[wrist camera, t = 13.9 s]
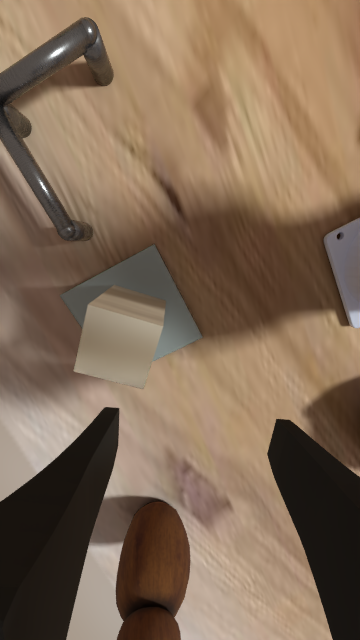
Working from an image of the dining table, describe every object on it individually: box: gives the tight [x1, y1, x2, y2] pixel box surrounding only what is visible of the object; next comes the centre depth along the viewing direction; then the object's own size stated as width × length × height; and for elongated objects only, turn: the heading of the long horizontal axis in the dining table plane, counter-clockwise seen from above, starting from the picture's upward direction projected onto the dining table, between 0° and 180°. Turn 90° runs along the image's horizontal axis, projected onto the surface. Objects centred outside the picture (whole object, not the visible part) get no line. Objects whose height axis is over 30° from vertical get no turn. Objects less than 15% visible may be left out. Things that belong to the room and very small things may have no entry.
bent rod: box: [0, 17, 113, 241], centre depth 15 cm, size 7×8×4 cm
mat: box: [60, 244, 203, 362], centre depth 19 cm, size 8×8×1 cm
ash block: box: [74, 285, 166, 389], centre depth 16 cm, size 4×4×6 cm
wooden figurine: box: [116, 502, 190, 640], centre depth 19 cm, size 7×6×15 cm
